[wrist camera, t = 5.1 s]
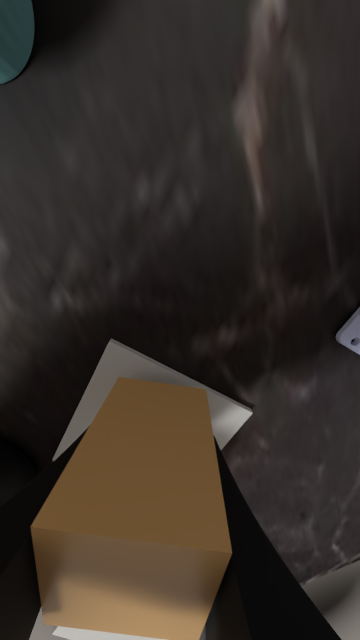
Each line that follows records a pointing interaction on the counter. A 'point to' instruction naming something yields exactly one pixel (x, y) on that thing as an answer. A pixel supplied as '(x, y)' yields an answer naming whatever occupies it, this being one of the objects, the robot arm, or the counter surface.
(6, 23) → the cupcake
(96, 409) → the light grey flat slab
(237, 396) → the counter surface
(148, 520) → the tan wooden block
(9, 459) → the cola bottle
